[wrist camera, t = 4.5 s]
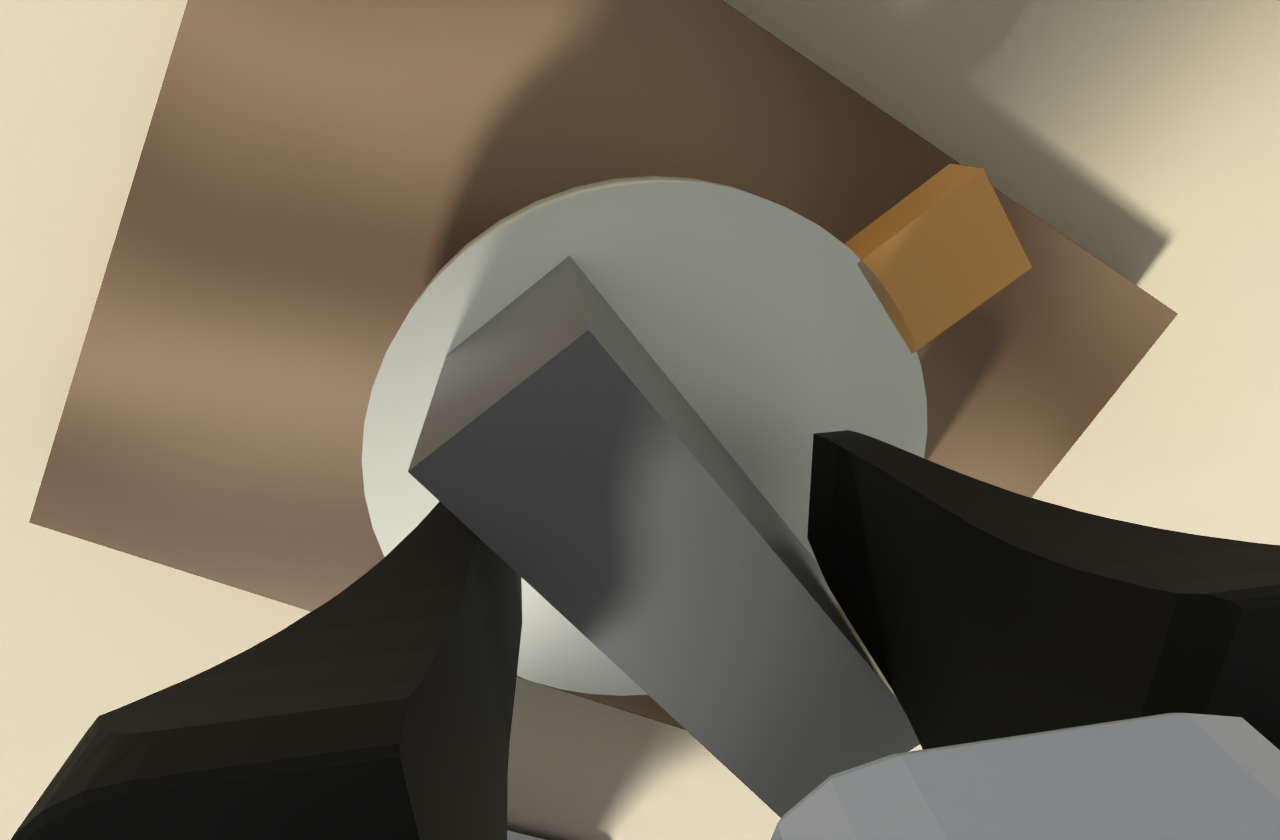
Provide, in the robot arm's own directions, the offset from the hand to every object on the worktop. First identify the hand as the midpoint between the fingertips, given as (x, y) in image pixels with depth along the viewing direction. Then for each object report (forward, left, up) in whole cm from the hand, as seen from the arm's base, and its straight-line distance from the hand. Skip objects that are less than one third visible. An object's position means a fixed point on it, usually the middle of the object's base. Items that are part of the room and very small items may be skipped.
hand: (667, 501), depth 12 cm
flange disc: (+1, 0, -2) cm, 2 cm away
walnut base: (0, 0, -5) cm, 5 cm away
